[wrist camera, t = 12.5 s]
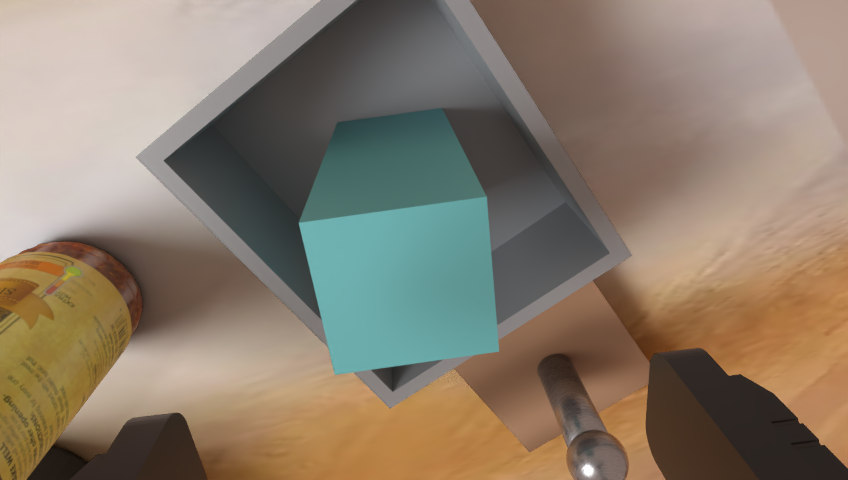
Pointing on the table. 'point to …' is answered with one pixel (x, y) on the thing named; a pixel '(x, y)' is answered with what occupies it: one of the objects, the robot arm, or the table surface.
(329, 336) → the strut
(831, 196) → the table surface
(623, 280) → the table surface
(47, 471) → the pen holder
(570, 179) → the bin
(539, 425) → the base
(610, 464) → the ball stud
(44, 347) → the sauce bottle
